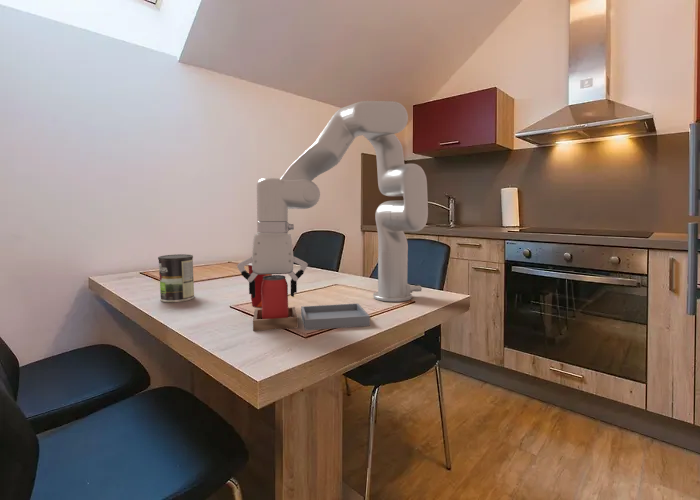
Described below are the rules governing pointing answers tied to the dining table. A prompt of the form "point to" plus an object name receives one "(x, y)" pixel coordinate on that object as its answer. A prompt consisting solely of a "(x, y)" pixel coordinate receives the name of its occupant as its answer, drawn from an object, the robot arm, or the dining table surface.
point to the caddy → (275, 321)
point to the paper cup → (257, 287)
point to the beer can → (274, 297)
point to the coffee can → (176, 277)
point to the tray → (334, 316)
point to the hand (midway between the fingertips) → (273, 296)
